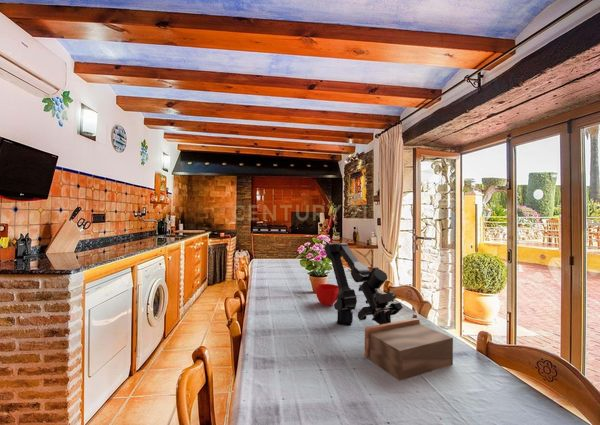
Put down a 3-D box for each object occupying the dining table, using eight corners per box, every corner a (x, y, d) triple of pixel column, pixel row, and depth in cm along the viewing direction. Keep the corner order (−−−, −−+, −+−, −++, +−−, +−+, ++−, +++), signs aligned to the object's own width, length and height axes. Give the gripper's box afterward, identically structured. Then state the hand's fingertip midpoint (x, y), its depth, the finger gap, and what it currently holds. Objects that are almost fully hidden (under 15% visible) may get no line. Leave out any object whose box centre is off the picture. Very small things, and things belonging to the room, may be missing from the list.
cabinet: (369, 359, 100) (369, 333, 100) (419, 347, 110) (419, 323, 110) (399, 380, 87) (399, 350, 87) (452, 364, 97) (452, 337, 97)
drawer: (364, 355, 101) (364, 327, 101) (415, 343, 112) (416, 318, 112) (393, 376, 88) (393, 343, 89) (448, 360, 99) (448, 331, 99)
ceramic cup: (327, 311, 150) (327, 292, 151) (311, 302, 165) (311, 285, 166) (347, 307, 156) (347, 289, 157) (330, 299, 171) (330, 283, 172)
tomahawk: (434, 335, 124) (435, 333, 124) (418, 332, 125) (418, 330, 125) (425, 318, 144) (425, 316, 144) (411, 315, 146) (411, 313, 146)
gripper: (362, 286, 108) (382, 325, 98) (399, 282, 116) (421, 318, 106) (350, 301, 115) (367, 339, 105) (385, 296, 123) (405, 331, 113)
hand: (391, 332), depth 107 cm, fingers closed, pressing on drawer
